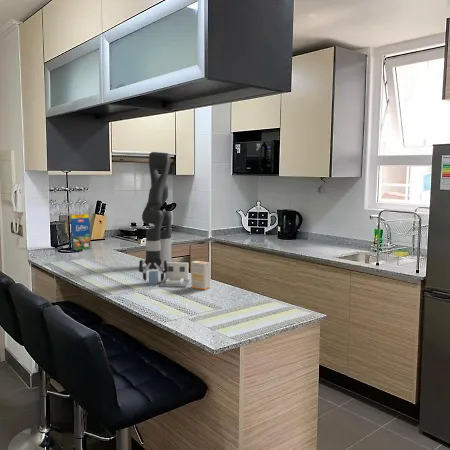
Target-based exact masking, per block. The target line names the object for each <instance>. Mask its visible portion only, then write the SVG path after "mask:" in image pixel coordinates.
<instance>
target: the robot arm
mask: <svg viewBox="0 0 450 450" xmlns="http://www.w3.org/2000/svg"><path fill="white" fill-rule="evenodd" d="M170 167H171V155H170V153H167V152H157V151H151V152H150V153H149V155H148V169H149V173H150V174H149V175H150V189H149V191H148V199H147V203H146V205H145V207H144V209H143V212H142V215H141V219H142V222H143V223H145V224H148V225H149V224H151V225H152V224H153V226H154V227H151V228H150V227H149V228H147V229H146V231H145V260H144V259H140V260H139V264H138V265H139V266H138V272H139V273H142V280H144V281H145V282H146V281H147V271H148V270H149V269H150V270H157V271H158V272H159V273H160V282H163V281H164V279H165V273H166V272H167V271H168V267H167V262H172V213H171V211H168V210H165V211H164V210H163V211H162V210H160V209H161V207H162V206H163V205H164V203H166V202H167V200H168V198H169V186H168V184H167V178H168V175H169V172H170ZM159 171H161V174H159ZM162 227H163V228H164V229H163V230H161V229H162ZM144 264H145V266H146V267H145V268H143V267H144Z"/></svg>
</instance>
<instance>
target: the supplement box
mask: <svg viewBox="0 0 450 450" xmlns="http://www.w3.org/2000/svg"><path fill="white" fill-rule="evenodd" d="M210 264H211V263H210V262H207V261H201V260H195V261H194V260H193V261H191V264H190V265H191V267H190V268H191V270H190V271H191V275H190V276H191V278H190V279H191V283H190V286H191V288H192V289H197V290H201V291H206V290H209V289H210V287H211V286H210V285H211V282H210V281H211V280H210V279H211V277H210V275H211V274H210V270H211V269H210V266H211V265H210Z"/></svg>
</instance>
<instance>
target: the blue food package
mask: <svg viewBox="0 0 450 450" xmlns="http://www.w3.org/2000/svg"><path fill="white" fill-rule="evenodd" d="M70 238H71V239H70V240H71V250H72V251H75V250H76V251H78V250H88V249H91V223H90V217H89V214H88V213H86V214H85V213H84V214H71V219H70Z"/></svg>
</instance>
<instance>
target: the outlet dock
mask: <svg viewBox="0 0 450 450" xmlns="http://www.w3.org/2000/svg"><path fill="white" fill-rule="evenodd" d="M167 267H168V271H167V272H166V273H164V279H163V281H161V283H160V284H159V287H161V288H187V286H188V284H189V283H190V279H189V262H179V261H177V262H175V261H174V262H172V261H171V262H167Z"/></svg>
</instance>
